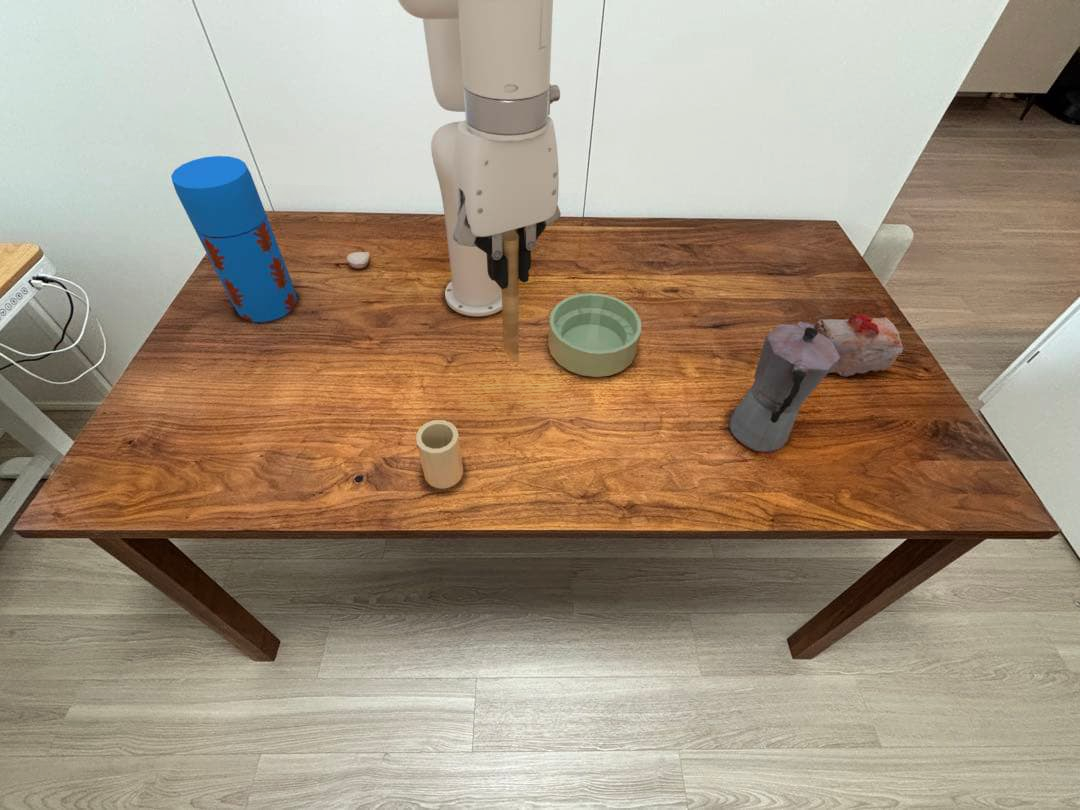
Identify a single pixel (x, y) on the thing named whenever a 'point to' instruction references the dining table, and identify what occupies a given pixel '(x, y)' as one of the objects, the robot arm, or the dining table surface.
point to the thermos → (236, 235)
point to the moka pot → (782, 385)
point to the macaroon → (358, 259)
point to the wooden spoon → (511, 296)
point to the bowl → (594, 334)
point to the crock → (440, 453)
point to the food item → (862, 343)
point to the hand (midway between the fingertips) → (509, 278)
